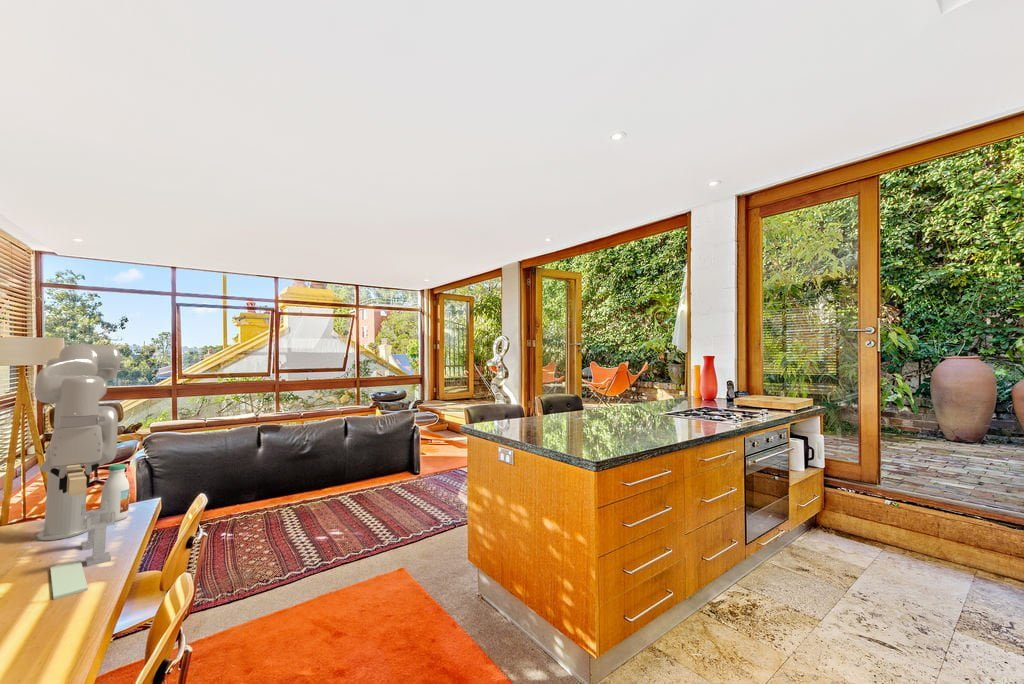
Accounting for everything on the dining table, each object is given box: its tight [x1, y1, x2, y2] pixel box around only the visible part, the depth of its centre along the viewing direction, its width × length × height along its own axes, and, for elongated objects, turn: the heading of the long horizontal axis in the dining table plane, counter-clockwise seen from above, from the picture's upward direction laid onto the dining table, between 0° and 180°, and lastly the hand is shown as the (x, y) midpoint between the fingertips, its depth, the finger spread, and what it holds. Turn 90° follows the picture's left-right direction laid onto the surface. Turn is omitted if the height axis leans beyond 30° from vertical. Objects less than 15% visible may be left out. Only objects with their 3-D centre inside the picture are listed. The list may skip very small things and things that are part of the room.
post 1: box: [80, 500, 109, 551], centre depth 136 cm, size 5×6×13 cm
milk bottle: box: [99, 463, 130, 522], centre depth 159 cm, size 8×8×20 cm
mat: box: [49, 559, 89, 600], centre depth 114 cm, size 23×6×1 cm, turn 49°
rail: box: [66, 465, 87, 496], centre depth 116 cm, size 22×3×4 cm, turn 49°
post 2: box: [84, 511, 116, 567], centre depth 126 cm, size 5×6×13 cm
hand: (74, 489), depth 116 cm, fingers closed on rail, 3 cm apart
